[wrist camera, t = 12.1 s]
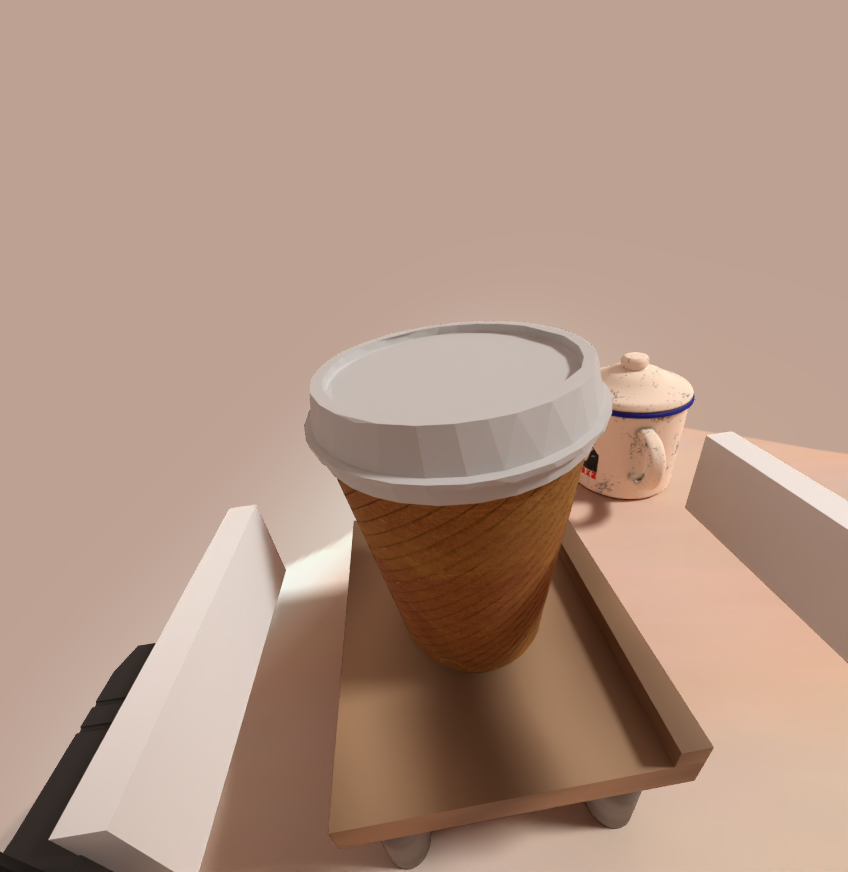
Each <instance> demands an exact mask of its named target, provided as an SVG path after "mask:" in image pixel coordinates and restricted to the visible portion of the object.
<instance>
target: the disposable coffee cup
mask: <svg viewBox="0 0 848 872" xmlns="http://www.w3.org/2000/svg"><path fill="white" fill-rule="evenodd" d="M612 399H613V398H612V396H611V394H610V391H609V389H608V387H607V385H606V384H605V383H604V382H603V381H602V379H601V372H600V366H599V359H598V356H597V352H596V350H595V348H594V347H593V346H592V345H591V344H590V343H588V342H587V341H586V340H584V339H583V338H582V337H580V336H578V335H575V334H573V333H571V332H568V331H566V330H562V329H558V328H554V327H550V326H545V325H540V324H531V323H525V322H509V321H483V322H481V321H477V322H460V323H449V324H440V325H432V326H427V327H422V328H417V329H411V330H406V331H402V332H397V333H393V334H389V335H386V336H383V337H379V338H376V339H373V340H371V341H367V342H365V343H361V344H359V345H357V346H355V347H352V348H350V349H348V350H345V351H344V352H341V353H340V354H338V355H336V356H335V357H333V358H332V359H330V360H329V361H328V362H326V363H324V364H323V365H322V366H321V367H320V368H319V370H318V371H317V372H316V373H315V374H314V375H313V377H312V378H311V385H310V411H309V413H308V416H307V419H306V422H305V425H304V427H305V435H306V441H307V443H308V445H309V447H310V448H311V450H312V451H313V452H314V454H315V455H316V456H317V457H318V458H319V460H320V461H321V463H322V464H324V465H325V466H327V467H328V469H329V470H330V471H331V472H332V474H333V475H334V476H335V477H336V478H337V479H338V482H339V484H340V486H341V488H342V490H343V492H344V495H345V497H346V499H347V501H348V503H349V505H350V507H351V509H352V511H353V514H354V516H355V518H356V520H357V522H358V524H359V527H360V529H361V531H362V533H363V535H364V537H365V539H366V542H367V544H368V546H369V548H370V550H371V552H372V555H373V557H374V559H375V561H376V563H377V565H378V567H379V569H380V571H381V574H382V576H383V578H384V580H385V582H386V584H387V586H388V589H389V591H390V593H391V595H392V597H393V599H394V601H395V604H396V606H397V608H398V610H399V612H400V614H401V616H402V619H403V621H404V623H405V625H406V627H407V629H408V631H409V633H410V635H411V637H412V638H413V640H414V642H415V643H416V645H417V646H418V647H419V648H420V649H421V650H422V651H423V653H424V654H425V655H427V656H428V657H430V658H431V659H433V660H434V661H435V662H437V663H439V664H441V665H444V666H446V667H449V668H451V669H454V670H458V671H463V672H485V671H490V670H495V669H498V668H501V667H503V666H505V665H507V664H510V663H512V662H513V661H514V660H516V659H517V658H518V657H520V656H521V655H522V654H523V653H524V652H525V651H526V650H527V648H528V647H529V646H530V644H531V643H532V642H533V640H534V638H535V636H536V634H537V632H538V629H539V625H540V621H541V617H542V613H543V609H544V605H545V602H546V598H547V595H548V591H549V587H550V584H551V580H552V577H553V574H554V570H555V566H556V562H557V559H558V554H559V551H560V547H561V543H562V541H563V538H564V533H565V529H566V526H567V522H568V519H569V515H570V512H571V508H572V503H573V500H574V497H575V493H576V489H577V486H578V483H579V479H580V474H581V471H582V468H583V464H584V460H585V457H586V456H588V454H589V452H590V451H591V449H592V447H593V445H594V444H595V442H596V440H597V439H598V438H599V437H600V436H601V435H602V434H603V433H604V432H605V430H606V427H607V425H608V422H609V419H610V417H611V414H612Z"/></svg>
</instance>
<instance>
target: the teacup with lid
mask: <svg viewBox="0 0 848 872" xmlns="http://www.w3.org/2000/svg"><path fill="white" fill-rule="evenodd" d="M600 372H601V379H602V381H603V382H604V383H605V384H606V385H607V387H608V389H609V391H610V394H611V396H612V398H613V399H612V414H611V417H610V419H609V422H608V425H607V427H606V430H605V432H604V433H603V434H602V435H601V436H600V437H599V438H598V439H597V440H596V442H595V444H594V445H593V447H592V449H591V451H590V452H589V454H588V456H586V457H585V460H584V464H583V468H582V471H581V474H580V479H579V483H581V484H582V485H583V486H585V487H586V488H588V489H590V490H592V491H594V492H597V493H599V494H602V495H605V496H609V497H614V498H621V499H640V498H646V497H650V496H653V495H655V494H658V493H659V492H661V491H662V490H664V489H665V488H666V487H667V485H668V484H669V482H670V478H671V475H672V471H673V467H674V463H675V459H676V455H677V451H678V447H679V443H680V439H681V435H682V431H683V427H684V423H685V419H686V415H687V411H688V408H689V407H690V406H691V405H692V404H693V402H694V392H693V389H692V387H691V385H690V383H689V382H688V381H687V380H685V379H684V378H683V377H681V376H679V375H677V374H675V373H672V372H670V371H666V370H663V369H660V368H658V367H656V366H654V365H651V364H649V357H648V356H647V355H646V354H644V353H639V352H631V353H627V354H625V355H624V356H623V357H622V358H621V362H620V363H616V364H613V365H610V366H607V367H601V368H600Z"/></svg>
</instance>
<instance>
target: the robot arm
mask: <svg viewBox="0 0 848 872" xmlns="http://www.w3.org/2000/svg"><path fill="white" fill-rule="evenodd" d="M685 508H686V509H687V510H688V511H689V512H690V513H691V514H692V515H693V516H694V517H695V518H696V519H697V520H698V521H699V522H700V523H702V524H703V525H704V526H705V527H706V528H707V529H708V530H709V531H710V532H711V533H712V534H713V535H714V536H715V537H716V538H717V539H718V540H719V541H720V542H721V543H722V544H724V545H725V546H726V547H727V548H728V549H729V550H730V551H731V552H732V553H733V554H734V555H735V556H736V557H737V558H738V559H739V560H740V561H741V562H742V563H743V564H744V565H746V566H747V567H748V568H749V569H750V570H751V571H752V572H753V573H754V574H755V575H756V576H757V577H758V578H759V579H760V580H761V581H762V582H763V583H764V584H765V585H766V586H768V587H769V588H770V589H771V590H772V591H773V592H774V593H775V594H776V595H777V596H778V597H779V598H780V599H781V600H782V601H783V602H784V603H785V604H786V605H787V606H788V607H789V608H791V609H792V610H793V611H794V612H795V613H796V614H797V615H798V616H799V617H800V618H801V619H802V620H803V621H804V622H805V623H806V624H807V625H808V626H809V627H810V628H811V629H813V630H814V631H815V632H816V633H817V634H818V635H819V636H820V637H821V638H822V639H823V640H824V641H825V642H826V643H827V644H828V645H829V646H830V647H831V648H832V649H833V650H835V651H836V652H837V653H838V654H839V655H840V656H841V657H842V658H843V659H844V660H845V661H846V662H847V663H848V501H846V500H845V499H843V498H841V497H840V496H838V495H837V494H835V493H833V492H832V491H830V490H828V489H827V488H825V487H823V486H822V485H820V484H818V483H817V482H815V481H813V480H812V479H810V478H808V477H807V476H805V475H803V474H802V473H800V472H798V471H797V470H795V469H794V468H792V467H790V466H789V465H787V464H785V463H784V462H782V461H780V460H779V459H777V458H775V457H774V456H772V455H770V454H769V453H767V452H765V451H764V450H762V449H760V448H759V447H757V446H755V445H754V444H752V443H750V442H749V441H747V440H746V439H744V438H742V437H741V436H739V435H737V434H735V433H734V432H725V433H718V434H712V435H706V438H705V441H704V445H703V448H702V452H701V455H700V458H699V462H698V465H697V469H696V472H695V476H694V479H693V482H692V486H691V489H690V493H689V496H688V499H687V503H686V506H685ZM285 571H286V569H285V567H284V565H283V563H282V561H281V558H280V556H279V554H278V552H277V549H276V547H275V545H274V543H273V540H272V538H271V536H270V534H269V532H268V529H267V527H266V525H265V523H264V521H263V518H262V516H261V514H260V512H259V509H258V507H257V505H250V506H243V507H236V508H230V509H229V510H228V512H227V514H226V516H225V518H224V520H223V521H222V523H221V525H220V527H219V529H218V531H217V532H216V535H215V536H214V538H213V540H212V542H211V543H210V545H209V547H208V549H207V551H206V552H205V554H204V556H203V558H202V560H201V562H200V563H199V565H198V567H197V569H196V571H195V573H194V574H193V576H192V578H191V580H190V582H189V584H188V585H187V587H186V589H185V591H184V593H183V595H182V596H181V598H180V600H179V602H178V604H177V606H176V607H175V609H174V611H173V613H172V615H171V617H170V618H169V620H168V622H167V624H166V626H165V627H164V629H163V631H162V633H161V635H160V637H159V639H158V640H157V642H156V643H153V644H147V645H140V646H138V647H137V648H136V649H135V650H134V651H133V652H132V653H131V654H130V655H129V656H128V657H127V658H126V659H125V661H124V662H123V663H122V664H121V665H120V666H119V667H118V668H117V669H116V670H115V671H114V673H113V674H112V676H111V677H110V679H109V681H108V682H107V684H106V686H105V688H104V689H103V691H102V692H101V694H100V696H99V697H98V699H97V701H96V706H95V707H93V708H92V709H91V710H90V712H89V714H88V716H87V717H86V719H85V720H84V722H83V724H82V725H81V731H80V732H79V733H78V734H76V735H75V737H74V739H73V740H72V742H71V744H70V745H69V747H68V749H67V750H66V752H65V753H64V755H63V757H62V758H61V760H60V762H59V763H58V765H57V767H56V768H55V770H54V772H53V773H52V775H51V777H50V778H49V780H48V782H47V783H46V785H45V786H44V788H43V790H42V791H41V793H40V795H39V796H38V798H37V800H36V801H35V803H34V805H33V806H32V808H31V810H30V811H29V813H28V815H27V816H26V818H25V820H24V821H23V823H22V824H21V826H20V828H19V829H18V831H17V833H16V834H15V836H14V838H13V839H12V841H11V842H10V844H9V845H8V846H7V848H6V849H5V851H4V852H3V853H1V852H0V872H199V870H200V867H201V863H202V860H203V856H204V853H205V849H206V846H207V842H208V839H209V835H210V832H211V828H212V825H213V821H214V818H215V814H216V811H217V808H218V804H219V801H220V797H221V794H222V790H223V787H224V783H225V780H226V776H227V773H228V769H229V766H230V762H231V759H232V755H233V752H234V748H235V745H236V742H237V738H238V735H239V731H240V728H241V724H242V721H243V717H244V714H245V710H246V707H247V703H248V700H249V696H250V693H251V689H252V686H253V683H254V679H255V676H256V672H257V669H258V665H259V662H260V658H261V655H262V651H263V648H264V644H265V641H266V637H267V634H268V630H269V627H270V624H271V620H272V617H273V613H274V610H275V606H276V603H277V599H278V596H279V592H280V589H281V585H282V582H283V578H284V575H285Z"/></svg>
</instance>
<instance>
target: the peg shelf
mask: <svg viewBox="0 0 848 872" xmlns="http://www.w3.org/2000/svg"><path fill="white" fill-rule="evenodd" d="M713 748H714V747H713V746H712V744H711V742H710V741H709V739H708V738H707V736H706V735H705V733H704V731H703V730H702V728H701V727H700V725H699V724H698V722H697V720H696V719H695V717H694V716H693V714H692V713H691V711H690V710H689V708H688V706H687V705H686V703H685V702H684V700H683V699H682V697H681V695H680V694H679V692H678V691H677V689H676V688H675V686H674V685H673V683H672V681H671V680H670V678H669V677H668V675H667V674H666V672H665V670H664V669H663V667H662V666H661V664H660V663H659V661H658V659H657V658H656V656H655V655H654V653H653V652H652V650H651V649H650V647H649V645H648V644H647V642H646V641H645V639H644V638H643V636H642V634H641V633H640V631H639V630H638V628H637V627H636V625H635V624H634V622H633V620H632V619H631V617H630V616H629V614H628V613H627V611H626V609H625V608H624V606H623V605H622V603H621V602H620V600H619V598H618V597H617V595H616V594H615V592H614V591H613V589H612V588H611V586H610V584H609V583H608V581H607V580H606V578H605V577H604V575H603V573H602V572H601V570H600V569H599V567H598V566H597V564H596V562H595V561H594V559H593V558H592V556H591V555H590V553H589V552H588V550H587V548H586V547H585V545H584V544H583V542H582V541H581V539H580V537H579V536H578V534H577V533H576V531H575V530H574V528H573V527H572V525H571V523H570V522H569V520H568V522H567V526H566V529H565V533H564V538H563V541H562V543H561V547H560V551H559V554H558V559H557V562H556V566H555V570H554V574H553V577H552V580H551V584H550V587H549V591H548V595H547V598H546V602H545V605H544V609H543V613H542V617H541V621H540V625H539V629H538V632H537V634H536V636H535V638H534V640H533V642H532V643H531V644H530V646H529V647H528V648H527V650H526V651H525V652H524V653H523V654H522V655H521V656H520V657H518V658H517V659H516V660H514V661H513V662H512V663H510V664H507V665H505V666H503V667H501V668H498V669H495V670H490V671H485V672H463V671H458V670H454V669H451V668H449V667H446V666H444V665H441V664H439V663H437V662H435V661H434V660H433V659H431V658H430V657H428V656H427V655H425V654H424V653H423V651H422V650H421V649H420V648H419V647H418V646H417V645H416V643H415V642H414V640H413V638H412V637H411V635H410V633H409V631H408V629H407V627H406V625H405V623H404V621H403V619H402V616H401V614H400V612H399V610H398V608H397V606H396V604H395V601H394V599H393V597H392V595H391V593H390V591H389V589H388V586H387V584H386V582H385V580H384V578H383V576H382V574H381V571H380V569H379V567H378V565H377V563H376V561H375V559H374V557H373V555H372V552H371V550H370V548H369V546H368V544H367V542H366V539H365V537H364V535H363V533H362V531H361V529H360V527H359V524H358V522H357V521H354V526H353V538H352V550H351V562H350V574H349V586H348V598H347V611H346V623H345V635H344V647H343V659H342V671H341V683H340V695H339V707H338V719H337V731H336V743H335V756H334V768H333V780H332V792H331V804H330V816H329V828H328V834H329V836H330V837H331V838H332V840H333V841H334V842H335V844H336V845H337V846H338V847H339V849H342V848H347V847H352V846H357V845H362V844H368V843H373V842H378V841H381V842H382V844H383V846H384V847H385V849H386V851H387V853H388V854H389V856H390V858H391V860H392V861H393V862H394V863H395V864H396V865H397V866H398V867H400V868H402V869H412V868H414V867H416V866H418V865H419V864H420V863H421V862H422V861H423V859H424V858H425V856H426V854H427V852H428V850H429V846H430V841H431V831H435V830H440V829H445V828H451V827H456V826H461V825H466V824H471V823H477V822H482V821H487V820H492V819H497V818H502V817H508V816H513V815H518V814H523V813H528V812H534V811H539V810H544V809H549V808H554V807H560V806H565V805H570V804H575V803H580V802H585V803H586V806H587V808H588V809H589V811H590V813H591V814H592V815H593V816H594V817H595V819H596V820H598V821H599V822H600V823H601V824H603V825H605V826H607V827H609V828H615V829H616V828H621V827H623V826H625V825H626V824H627V823H628V821H629V819H630V817H631V815H632V813H633V810H634V808H635V806H636V803H637V801H638V799H639V796H640V794H641V792H642V791H643V790H648V789H653V788H658V787H663V786H668V785H674V784H679V783H684V782H689V781H694V780H695V779H696V777H697V775H698V774H699V772H700V770H701V768H702V767H703V765H704V763H705V762H706V760H707V758H708V757H709V755H710V753H711V751H712V750H713Z"/></svg>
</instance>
